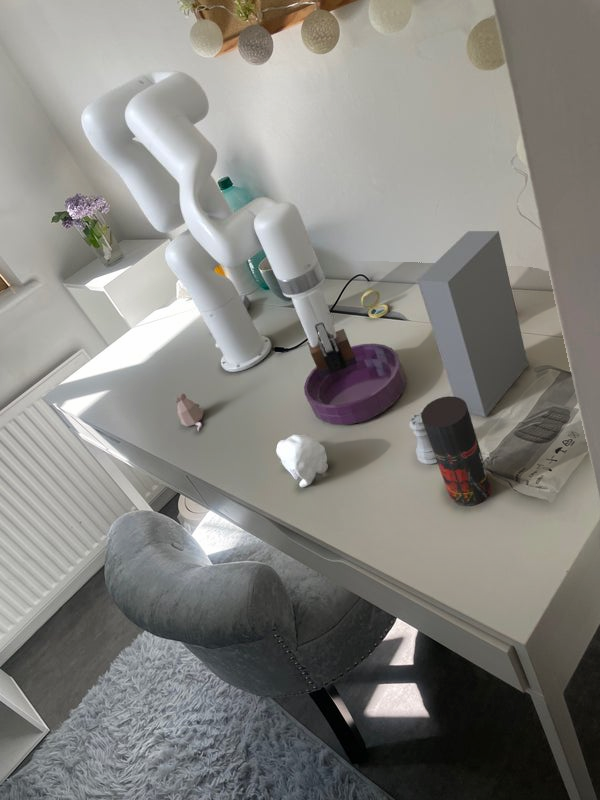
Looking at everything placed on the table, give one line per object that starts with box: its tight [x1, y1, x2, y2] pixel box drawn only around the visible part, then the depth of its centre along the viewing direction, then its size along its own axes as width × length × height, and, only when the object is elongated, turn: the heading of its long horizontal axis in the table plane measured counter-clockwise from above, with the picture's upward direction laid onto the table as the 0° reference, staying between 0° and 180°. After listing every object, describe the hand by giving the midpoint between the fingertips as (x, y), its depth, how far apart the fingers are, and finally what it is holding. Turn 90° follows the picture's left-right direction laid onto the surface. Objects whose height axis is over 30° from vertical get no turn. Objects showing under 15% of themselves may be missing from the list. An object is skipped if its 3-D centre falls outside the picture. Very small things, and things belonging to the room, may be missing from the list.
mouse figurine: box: [174, 392, 204, 432], centre depth 128 cm, size 5×8×7 cm, turn 21°
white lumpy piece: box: [275, 434, 329, 488], centre depth 102 cm, size 6×8×12 cm
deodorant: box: [421, 395, 492, 507], centre depth 83 cm, size 6×6×15 cm
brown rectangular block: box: [307, 328, 357, 377], centre depth 112 cm, size 7×4×6 cm, turn 96°
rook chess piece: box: [408, 411, 438, 465], centre depth 93 cm, size 4×4×8 cm
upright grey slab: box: [416, 230, 530, 418], centre depth 95 cm, size 14×6×25 cm, turn 134°
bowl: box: [303, 343, 407, 426], centre depth 113 cm, size 18×18×5 cm
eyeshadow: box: [360, 289, 389, 319], centre depth 134 cm, size 4×5×5 cm
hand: (335, 362), depth 113 cm, fingers closed on brown rectangular block, 4 cm apart
